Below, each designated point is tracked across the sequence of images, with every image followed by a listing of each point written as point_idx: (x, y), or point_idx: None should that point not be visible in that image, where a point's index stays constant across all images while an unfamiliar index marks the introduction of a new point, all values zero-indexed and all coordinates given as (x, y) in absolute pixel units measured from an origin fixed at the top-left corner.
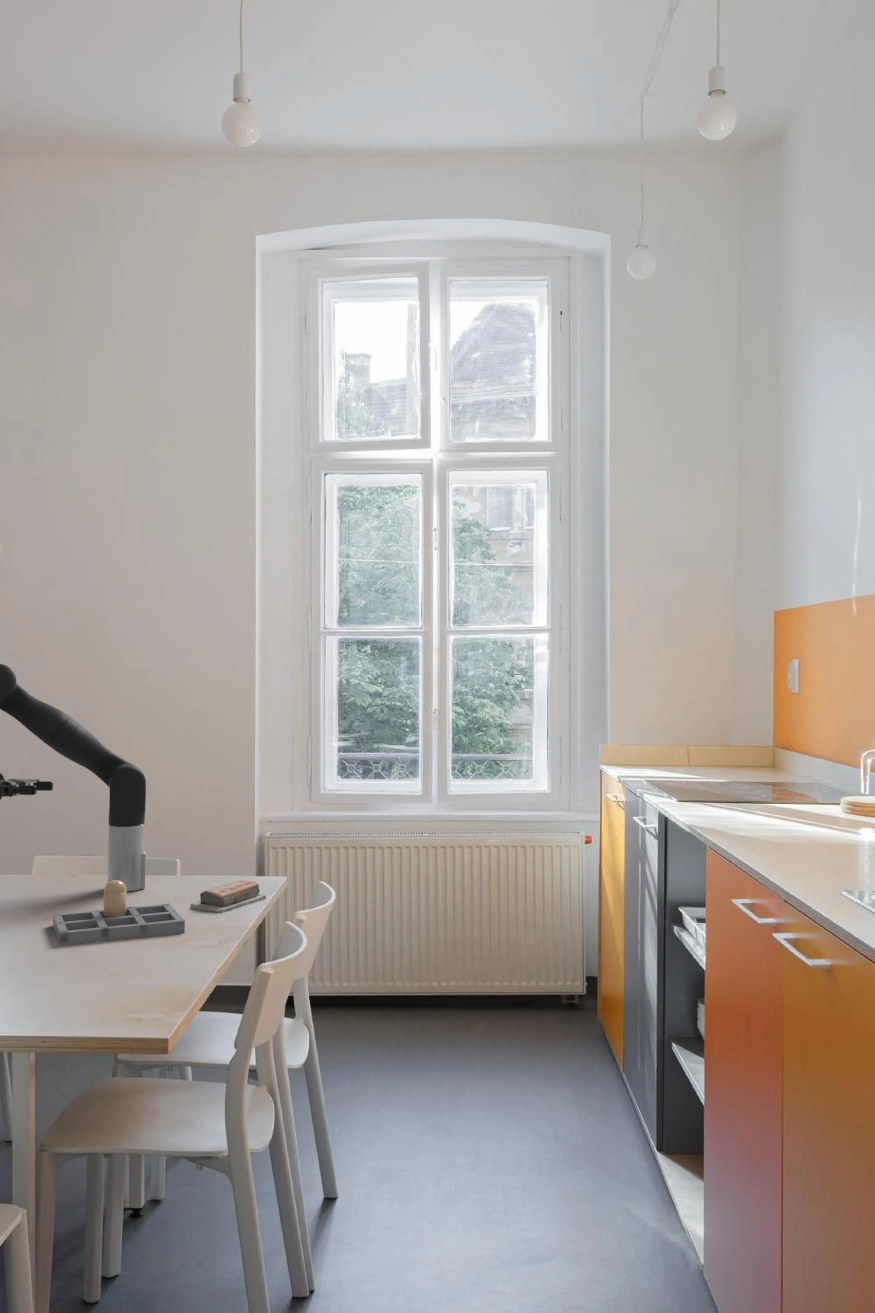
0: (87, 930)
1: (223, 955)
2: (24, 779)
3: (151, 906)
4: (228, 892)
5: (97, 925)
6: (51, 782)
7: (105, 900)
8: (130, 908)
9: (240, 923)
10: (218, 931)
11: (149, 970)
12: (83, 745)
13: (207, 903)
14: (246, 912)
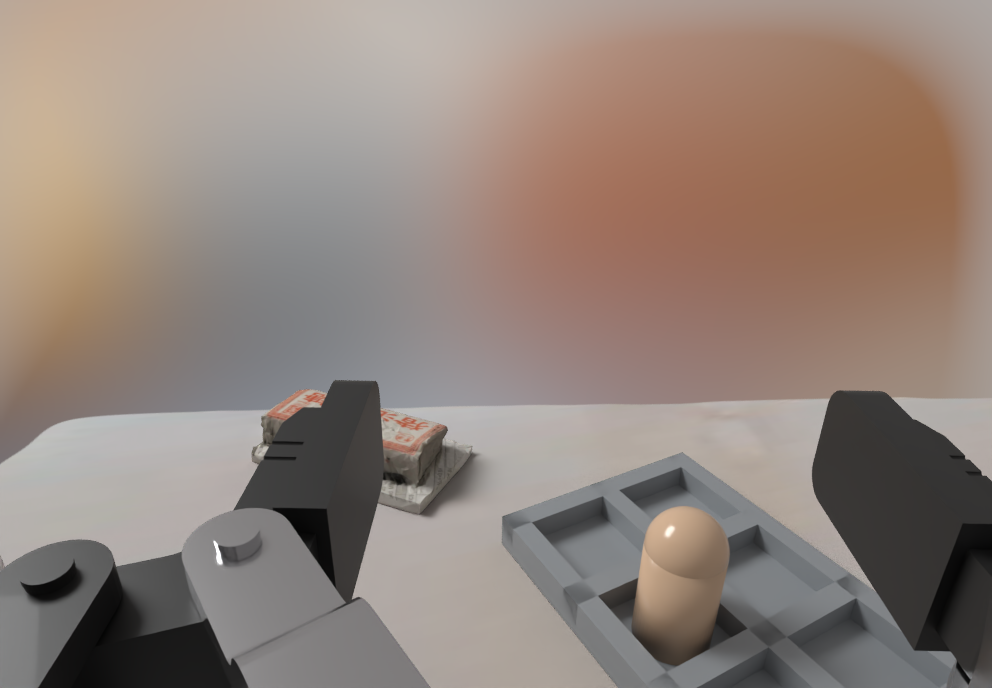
0: None
1: (804, 403)
2: (394, 649)
3: (549, 545)
4: (410, 417)
5: (813, 626)
6: (368, 382)
7: (721, 588)
8: (591, 590)
9: (564, 415)
10: (642, 432)
11: (979, 469)
12: None
13: (424, 470)
14: (461, 420)
